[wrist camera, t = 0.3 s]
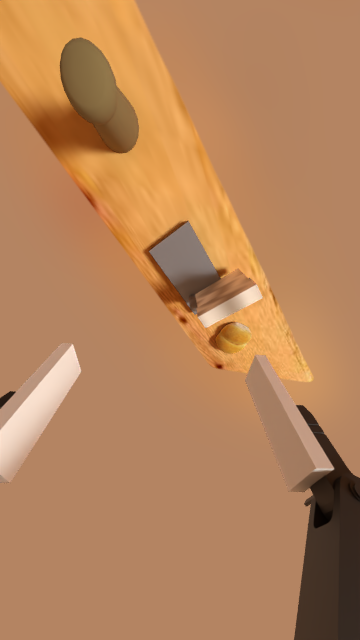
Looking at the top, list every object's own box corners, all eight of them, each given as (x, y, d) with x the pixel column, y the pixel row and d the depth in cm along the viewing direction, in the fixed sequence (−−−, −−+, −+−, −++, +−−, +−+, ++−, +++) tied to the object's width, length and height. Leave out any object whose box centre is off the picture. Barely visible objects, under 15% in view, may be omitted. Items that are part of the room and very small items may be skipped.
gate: (192, 305, 39) (196, 332, 30) (186, 296, 38) (188, 322, 29) (241, 276, 35) (262, 297, 26) (236, 265, 34) (256, 284, 25)
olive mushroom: (133, 161, 27) (109, 134, 18) (94, 141, 26) (47, 101, 17) (143, 108, 24) (121, 44, 15) (100, 83, 23) (47, -4, 14)
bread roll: (210, 342, 47) (212, 352, 44) (228, 317, 43) (232, 326, 40) (235, 352, 49) (239, 362, 46) (255, 328, 45) (261, 338, 42)
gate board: (150, 249, 34) (148, 251, 33) (188, 220, 32) (188, 221, 30) (194, 311, 42) (194, 314, 41) (228, 292, 39) (229, 295, 38)
